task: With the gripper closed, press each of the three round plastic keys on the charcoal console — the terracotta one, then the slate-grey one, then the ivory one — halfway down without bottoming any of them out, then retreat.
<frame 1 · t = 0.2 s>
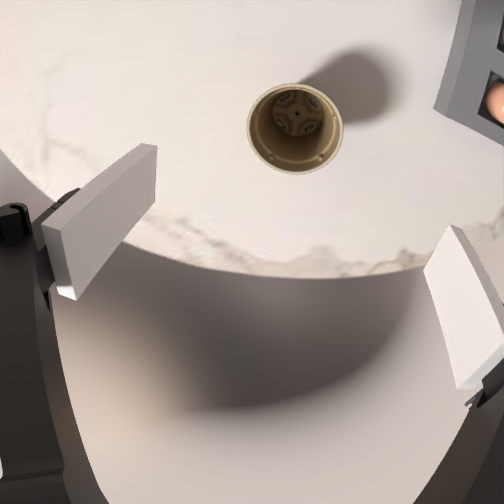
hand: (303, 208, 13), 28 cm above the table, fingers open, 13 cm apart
console: (503, 38, 24), on the table
flower pot: (298, 112, 37), on the table
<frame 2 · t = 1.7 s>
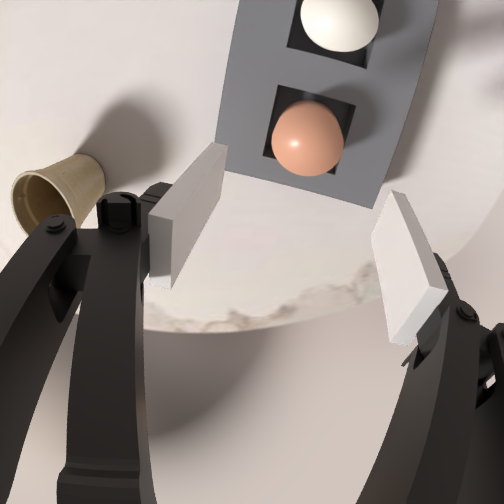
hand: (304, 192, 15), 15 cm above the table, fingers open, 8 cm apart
ivory key: (337, 19, 17), point 5 cm above the table, slide at 0.0 cm
console: (332, 24, 21), on the table
terracotta key: (308, 135, 22), point 6 cm above the table, slide at 0.0 cm
flower pot: (87, 176, 34), on the table
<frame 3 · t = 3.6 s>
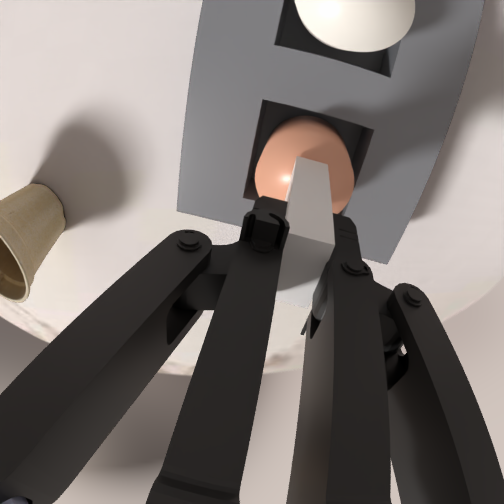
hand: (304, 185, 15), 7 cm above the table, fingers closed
ivory key: (350, 2, 10), point 5 cm above the table, slide at 0.0 cm
console: (339, 14, 15), on the table
terracotta key: (305, 166, 17), point 4 cm above the table, slide at 1.1 cm, touching gripper
flower pot: (46, 208, 28), on the table
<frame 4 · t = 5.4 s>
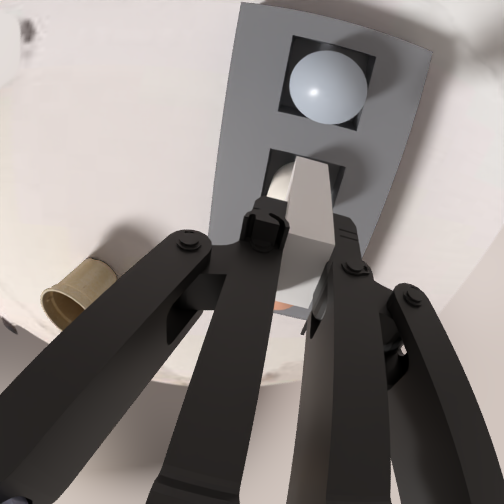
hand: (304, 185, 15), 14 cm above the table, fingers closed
slate key: (327, 84, 19), point 5 cm above the table, slide at 0.0 cm
ivory key: (298, 199, 24), point 5 cm above the table, slide at 0.0 cm
console: (301, 173, 29), on the table
terracotta key: (276, 277, 31), point 4 cm above the table, slide at 1.3 cm
flower pot: (101, 274, 42), on the table
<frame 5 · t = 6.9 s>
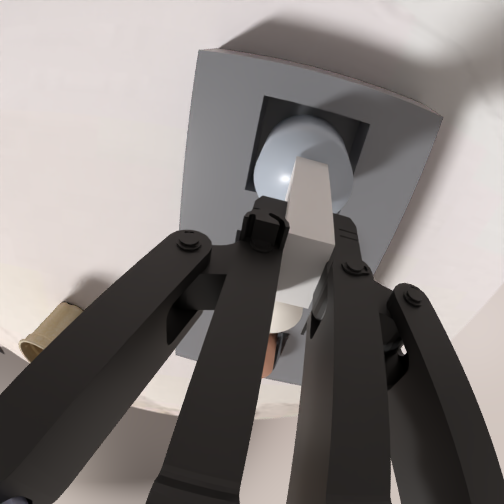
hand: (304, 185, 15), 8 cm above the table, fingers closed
slate key: (304, 165, 17), point 5 cm above the table, slide at 0.1 cm, touching gripper
ivory key: (268, 287, 22), point 5 cm above the table, slide at 0.0 cm
console: (277, 242, 27), on the table
terracotta key: (249, 347, 29), point 4 cm above the table, slide at 1.3 cm
flower pot: (78, 317, 39), on the table
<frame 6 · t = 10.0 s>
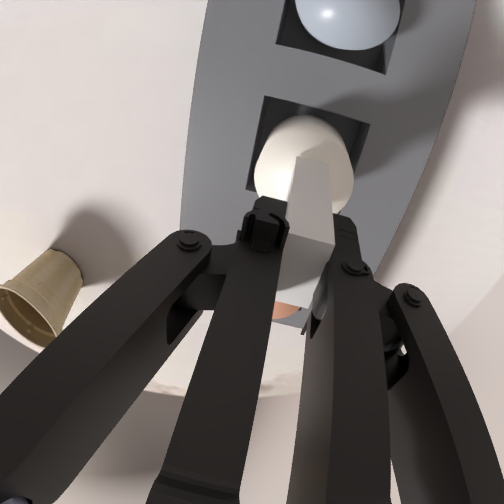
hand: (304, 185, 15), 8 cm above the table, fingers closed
slate key: (344, 7, 12), point 4 cm above the table, slide at 1.3 cm
ivory key: (304, 165, 17), point 5 cm above the table, slide at 0.1 cm, touching gripper
console: (306, 137, 21), on the table
terracotta key: (271, 275, 23), point 4 cm above the table, slide at 1.3 cm
flower pot: (64, 268, 34), on the table
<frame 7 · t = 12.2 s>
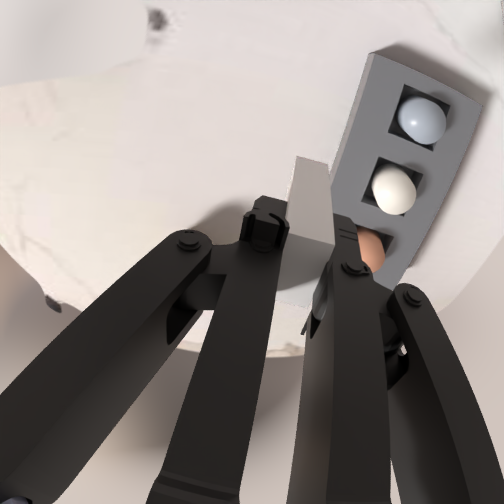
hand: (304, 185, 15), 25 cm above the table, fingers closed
slate key: (420, 118, 30), point 4 cm above the table, slide at 1.3 cm
ivory key: (392, 188, 35), point 4 cm above the table, slide at 1.3 cm
console: (386, 175, 38), on the table
terracotta key: (364, 249, 40), point 4 cm above the table, slide at 1.3 cm
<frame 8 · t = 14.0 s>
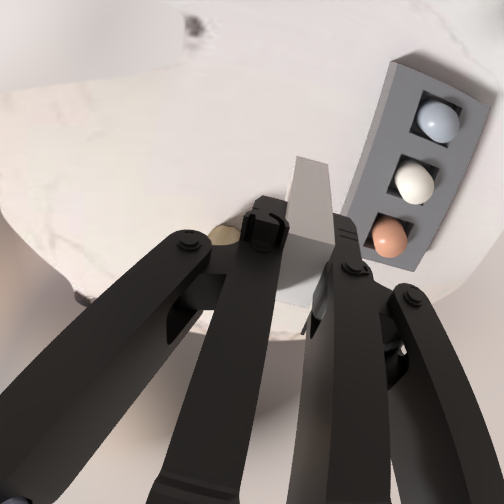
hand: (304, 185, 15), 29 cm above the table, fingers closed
slate key: (436, 120, 33), point 4 cm above the table, slide at 1.3 cm
ivory key: (413, 181, 38), point 4 cm above the table, slide at 1.3 cm
console: (405, 169, 42), on the table
terracotta key: (388, 235, 44), point 4 cm above the table, slide at 1.3 cm
flower pot: (227, 239, 55), on the table
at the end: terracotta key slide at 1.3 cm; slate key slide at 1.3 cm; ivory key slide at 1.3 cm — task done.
